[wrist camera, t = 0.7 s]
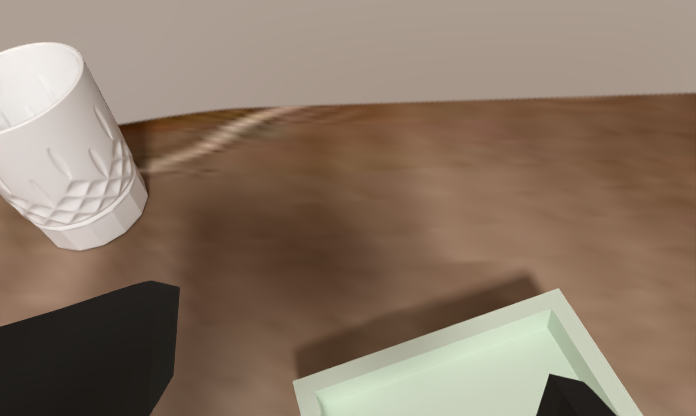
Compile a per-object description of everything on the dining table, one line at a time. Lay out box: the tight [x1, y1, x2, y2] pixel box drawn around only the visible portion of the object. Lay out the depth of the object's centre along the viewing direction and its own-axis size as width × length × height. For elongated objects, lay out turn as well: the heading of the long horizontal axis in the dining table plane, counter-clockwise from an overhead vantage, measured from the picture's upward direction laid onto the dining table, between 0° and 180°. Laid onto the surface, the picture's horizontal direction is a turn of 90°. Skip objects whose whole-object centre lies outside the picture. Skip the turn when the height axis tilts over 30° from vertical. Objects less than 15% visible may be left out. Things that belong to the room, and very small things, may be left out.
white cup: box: [0, 42, 148, 251], centre depth 34 cm, size 8×8×10 cm
